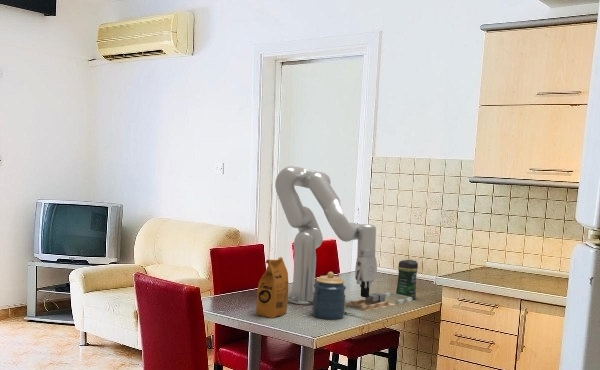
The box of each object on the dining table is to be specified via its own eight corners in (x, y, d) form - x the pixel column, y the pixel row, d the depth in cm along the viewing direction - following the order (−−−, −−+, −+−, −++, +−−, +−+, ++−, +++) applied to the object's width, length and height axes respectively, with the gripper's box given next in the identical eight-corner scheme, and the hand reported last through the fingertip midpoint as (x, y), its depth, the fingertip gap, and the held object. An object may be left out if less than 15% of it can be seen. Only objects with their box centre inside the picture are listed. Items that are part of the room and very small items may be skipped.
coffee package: (251, 314, 216) (255, 258, 216) (269, 309, 227) (273, 255, 227) (272, 319, 211) (276, 261, 211) (290, 313, 222) (294, 258, 221)
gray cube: (372, 306, 238) (373, 296, 238) (365, 304, 241) (365, 294, 241) (378, 304, 241) (378, 295, 241) (370, 302, 244) (371, 293, 244)
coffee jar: (407, 301, 259) (410, 261, 259) (393, 298, 264) (396, 259, 264) (418, 299, 266) (421, 260, 266) (403, 295, 272) (406, 257, 271)
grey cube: (379, 304, 242) (380, 295, 242) (371, 302, 245) (372, 293, 245) (384, 303, 245) (385, 294, 245) (377, 301, 248) (377, 292, 248)
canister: (324, 309, 232) (327, 267, 232) (350, 316, 224) (353, 272, 223) (305, 314, 222) (308, 270, 222) (331, 321, 214) (334, 275, 213)
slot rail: (366, 314, 228) (366, 307, 228) (343, 308, 237) (343, 301, 237) (412, 304, 255) (412, 297, 255) (390, 298, 263) (390, 292, 263)
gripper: (362, 255, 228) (361, 300, 228) (383, 253, 239) (382, 296, 239) (348, 253, 233) (346, 297, 233) (369, 251, 244) (367, 293, 244)
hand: (364, 296), depth 236 cm, fingers closed
